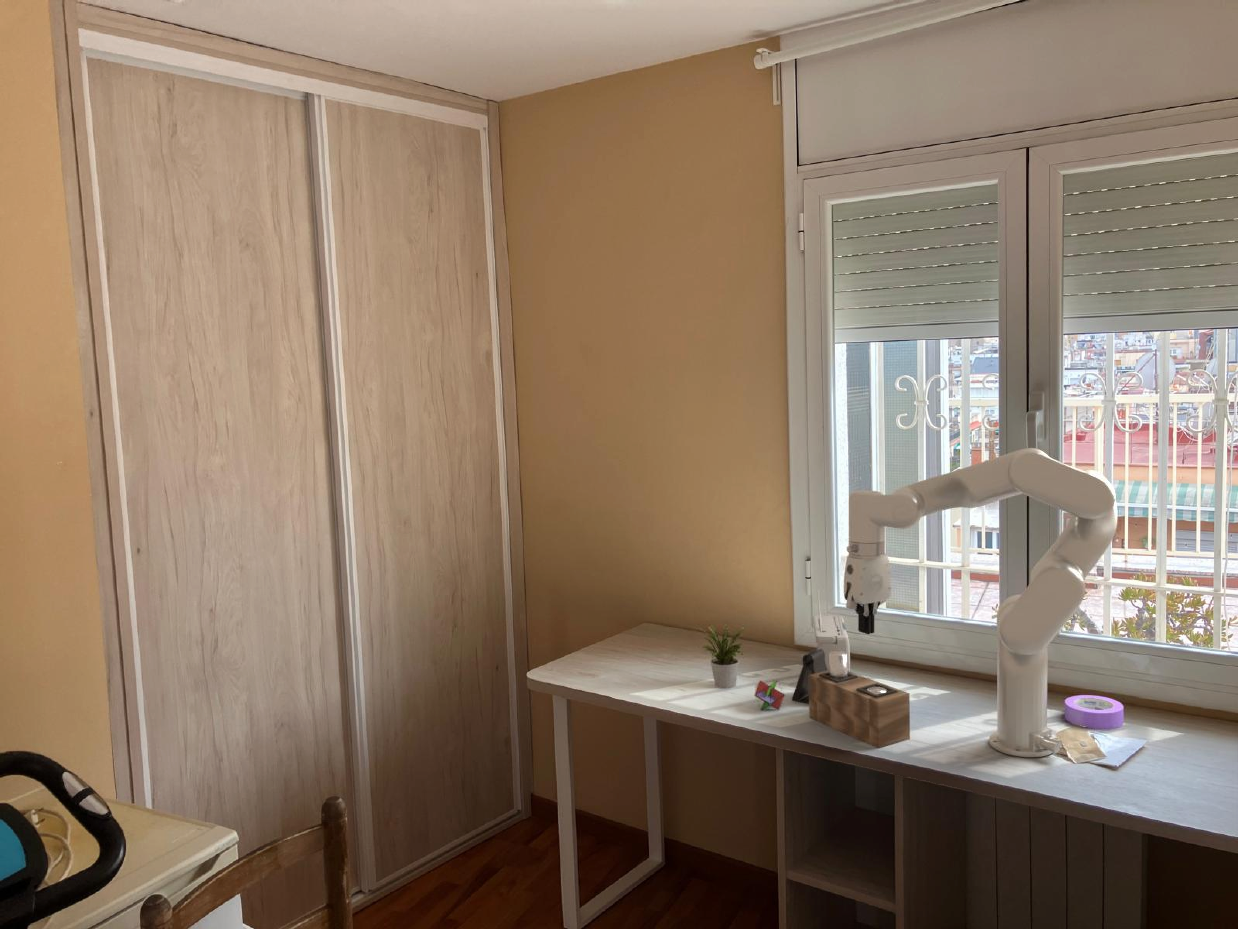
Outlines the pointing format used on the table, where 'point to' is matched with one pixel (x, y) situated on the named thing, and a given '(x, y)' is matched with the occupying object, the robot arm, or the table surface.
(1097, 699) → the masking tape
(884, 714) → the block
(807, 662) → the phone stand
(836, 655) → the peg far
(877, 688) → the peg near
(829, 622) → the stereo radio cassette player
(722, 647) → the house plant
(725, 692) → the table surface
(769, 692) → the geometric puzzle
